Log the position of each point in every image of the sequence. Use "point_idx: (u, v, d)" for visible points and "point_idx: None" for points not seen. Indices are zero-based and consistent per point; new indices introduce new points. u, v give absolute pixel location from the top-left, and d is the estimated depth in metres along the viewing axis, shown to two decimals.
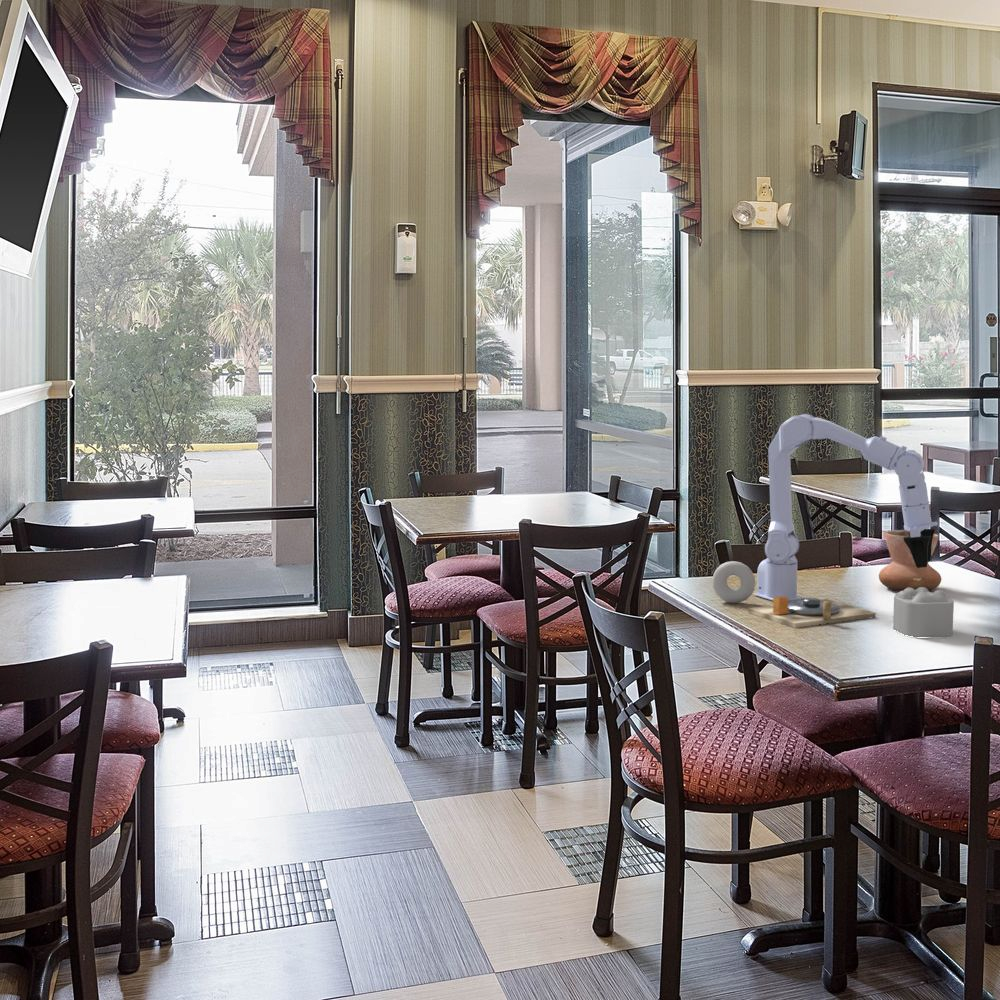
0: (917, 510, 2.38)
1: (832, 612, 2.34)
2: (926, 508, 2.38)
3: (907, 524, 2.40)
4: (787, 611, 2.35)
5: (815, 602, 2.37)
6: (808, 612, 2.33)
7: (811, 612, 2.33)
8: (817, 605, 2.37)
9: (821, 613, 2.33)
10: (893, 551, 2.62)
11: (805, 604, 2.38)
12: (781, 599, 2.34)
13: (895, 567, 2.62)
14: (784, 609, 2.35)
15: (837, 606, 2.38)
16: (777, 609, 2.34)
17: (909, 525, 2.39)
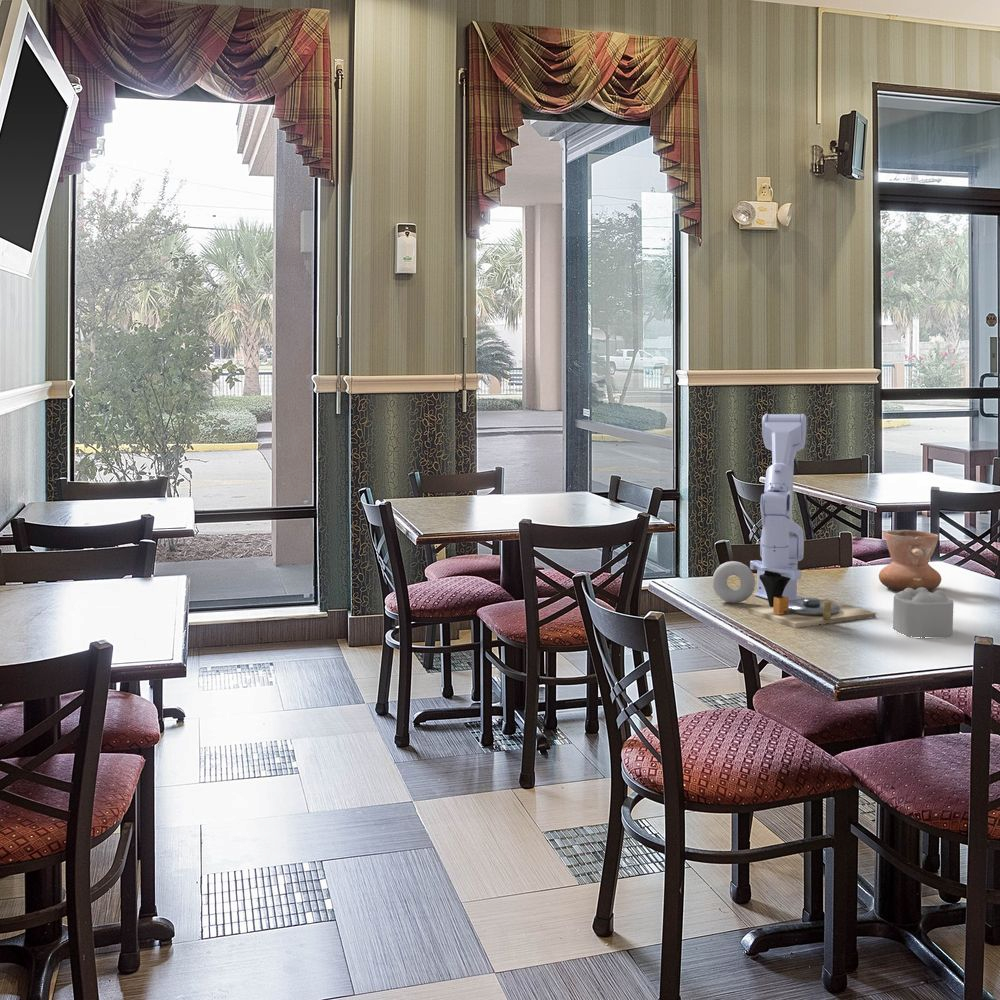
0: None
1: (832, 612, 2.34)
2: (762, 550, 2.36)
3: None
4: (787, 611, 2.35)
5: (815, 602, 2.37)
6: (808, 612, 2.33)
7: (811, 612, 2.33)
8: (817, 605, 2.37)
9: (821, 613, 2.33)
10: (893, 551, 2.62)
11: (805, 604, 2.38)
12: (781, 599, 2.34)
13: (895, 566, 2.62)
14: (784, 609, 2.34)
15: (837, 606, 2.38)
16: (777, 609, 2.34)
17: None
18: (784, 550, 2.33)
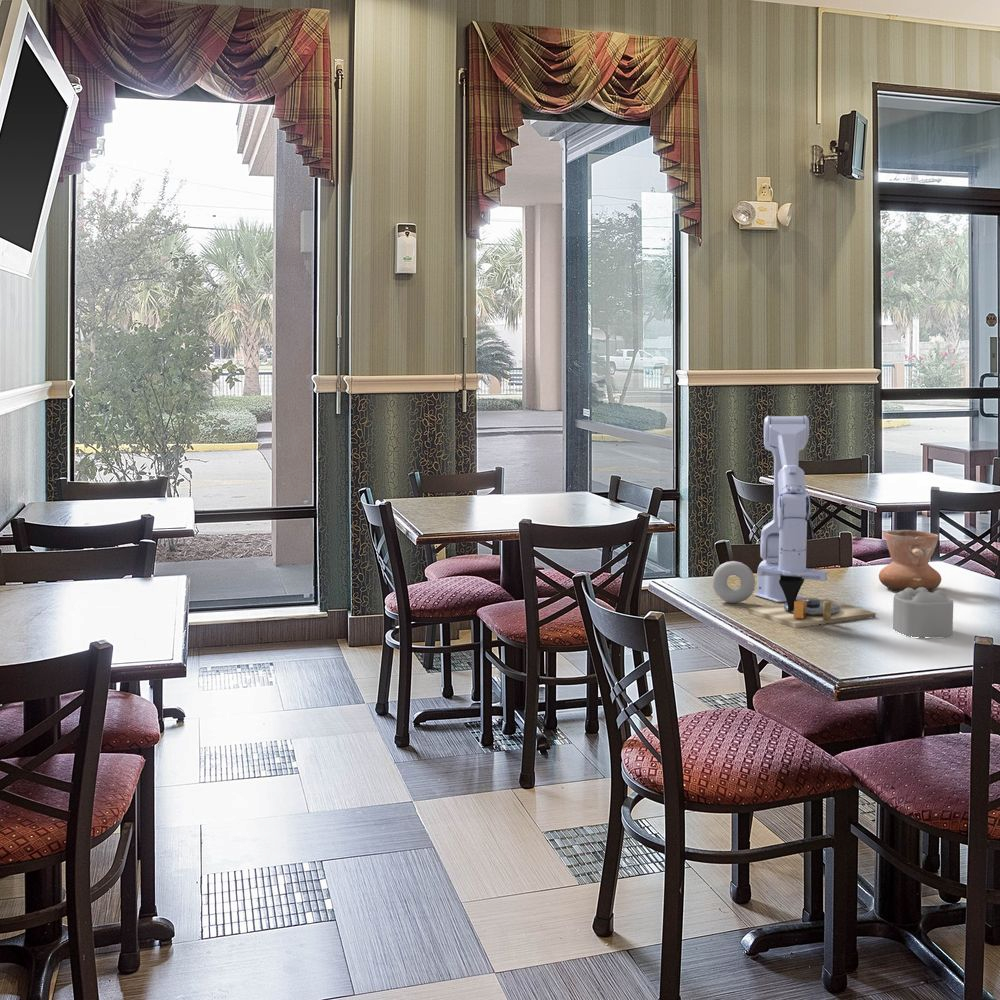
0: None
1: (839, 609, 2.36)
2: (782, 555, 2.30)
3: None
4: (806, 614, 2.32)
5: (819, 601, 2.37)
6: None
7: None
8: (819, 604, 2.38)
9: (834, 611, 2.34)
10: (893, 551, 2.62)
11: (810, 605, 2.37)
12: (804, 602, 2.30)
13: (895, 567, 2.62)
14: (805, 612, 2.31)
15: (831, 603, 2.41)
16: (800, 613, 2.30)
17: None
18: (805, 552, 2.30)
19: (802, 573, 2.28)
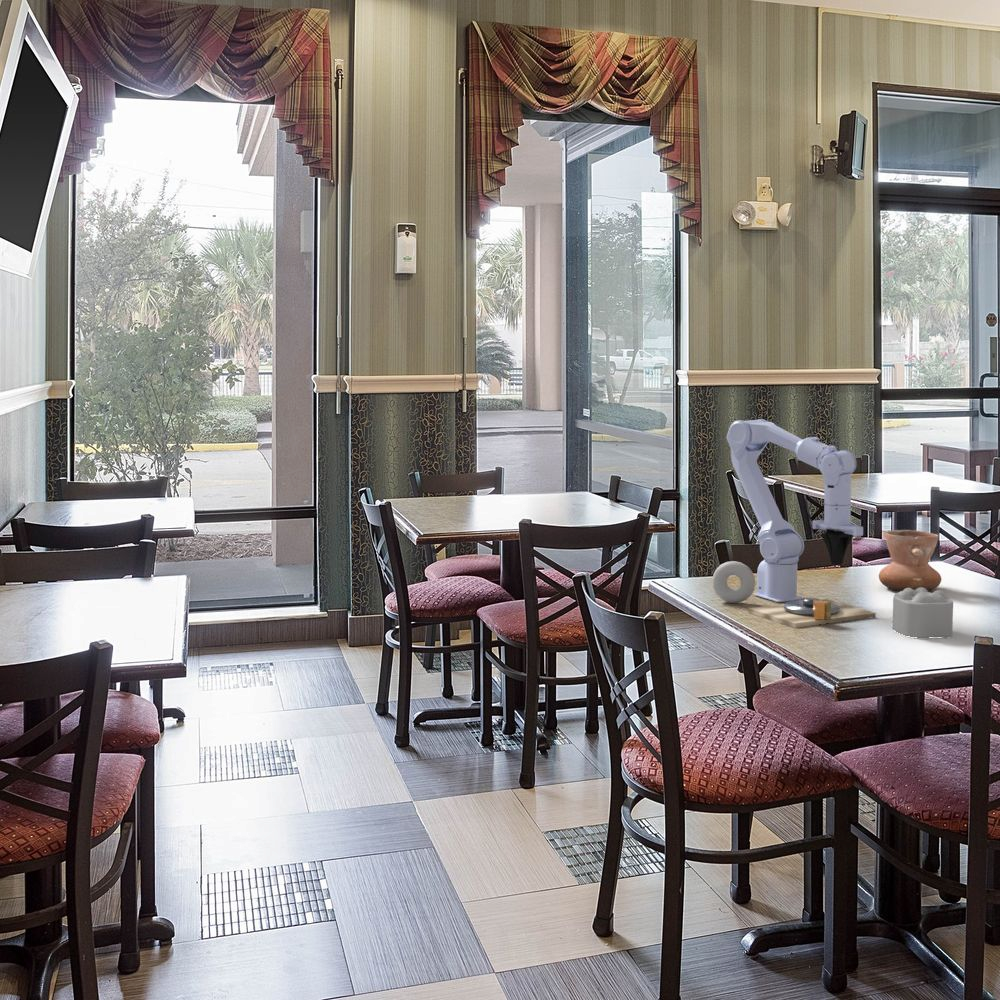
0: None
1: None
2: (824, 509, 2.43)
3: None
4: None
5: None
6: (834, 611, 2.34)
7: (836, 610, 2.34)
8: None
9: (839, 609, 2.36)
10: (893, 551, 2.62)
11: None
12: None
13: (895, 567, 2.62)
14: None
15: None
16: (822, 614, 2.29)
17: None
18: (846, 508, 2.40)
19: (837, 527, 2.39)
